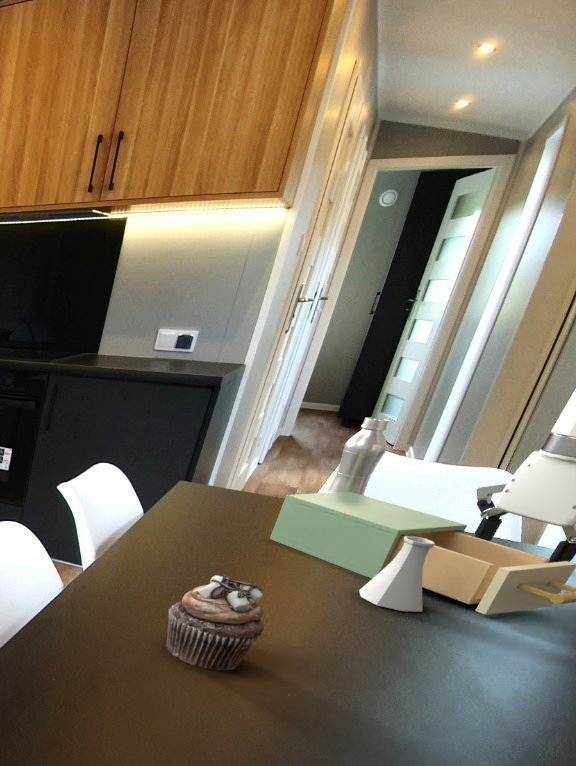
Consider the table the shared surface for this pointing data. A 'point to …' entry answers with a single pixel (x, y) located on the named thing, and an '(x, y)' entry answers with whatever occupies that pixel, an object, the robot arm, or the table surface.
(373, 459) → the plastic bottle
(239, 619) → the cupcake
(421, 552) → the flask
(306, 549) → the cabinet
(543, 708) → the table surface
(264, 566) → the table surface
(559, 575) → the drawer
